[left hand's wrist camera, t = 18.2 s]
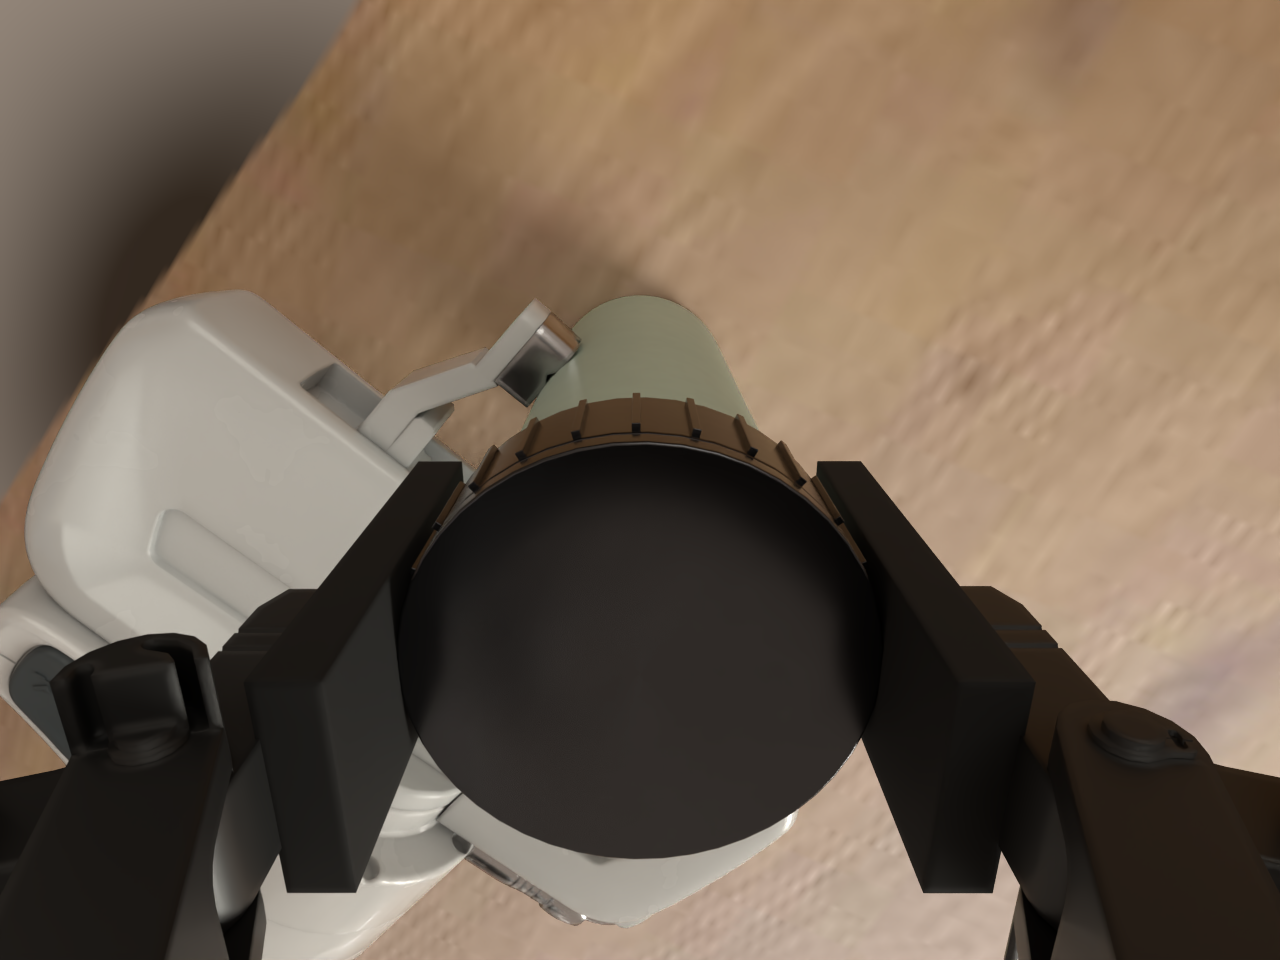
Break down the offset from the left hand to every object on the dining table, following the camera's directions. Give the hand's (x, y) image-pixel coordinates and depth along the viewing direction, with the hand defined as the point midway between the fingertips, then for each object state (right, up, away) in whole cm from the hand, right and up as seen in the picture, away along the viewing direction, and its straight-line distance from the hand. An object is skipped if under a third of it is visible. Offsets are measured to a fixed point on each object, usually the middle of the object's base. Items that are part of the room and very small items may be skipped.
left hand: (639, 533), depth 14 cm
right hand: (+1, +3, +5) cm, 5 cm away
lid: (0, -1, -4) cm, 4 cm away
